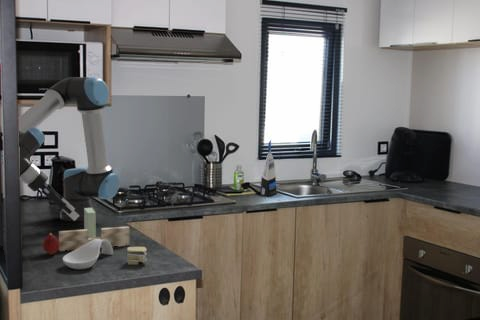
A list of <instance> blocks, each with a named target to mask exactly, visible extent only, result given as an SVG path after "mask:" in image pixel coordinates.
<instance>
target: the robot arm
mask: <svg viewBox="0 0 480 320" xmlns="http://www.w3.org/2000/svg"><path fill="white" fill-rule="evenodd" d="M109 92H110V91H109V88H108V85H107V84H106V81H104V80H103V79H101V78H99V77H93V76H88V77H87V76H84V77H83V76H79V77H77V76H70V77H66V78H64V79H62V80H60V81H58V82H57V83H55V84H54V85H52V86H51V87H49V89H48V90H46V91H45V92H44V96H43V97H41V99H39V100H38V101H37V102H36V103H35V104H33V105H32V106H31V107H30V108H28V109H27V110H26V111H25V112H23V114H21V115H20V116H19V117H18V118H19V147H20V178H19V179H20V181H19V182H23V183H24V184H25V185H27V187H28V188H29V189H30V190H31V191H32V192H37V191H38V190H39V189H40V190H41V191H40V192H41V193H42V195H44V196H45V197H47V198H48V199H49V200H51V201H52V202H53V204H55V205H56V206H57V207H58V208H59V209H58V210H59V211H60V213H59V214H60V215H59V216H60V217H59V218H60V220H62V221H64V222H84V208H92V209H93V210H94V208H93V205H92V202H91V198H93V199H100V200H110V199H112V198H114V197H115V196H116V195H117V192H118V191H119V188H120V177H119V175H118V174H116V173H114V171H113V166H111V165H110V164H109V159H108V158H109V157H108V150H107V143H106V142H107V141H106V136H105V129H104V128H105V127H104V118H103V110H104V109H105V108H106V107H105V105H106V104H107V102H108V101H109V97H110V93H109ZM69 105H76V110H77V112H79V113H80V114H81V119H82V120H81V121H82V127H83V135H84V143H85V149H86V156H87V157H86V158H87V164H88V166H87V167H86V166H83V167H77V168H69V169H66V170H64V172H63V179H62V180H63V194H59V192H57V191H56V190H55V189H54V188H53V187H52V185H50V184H49V183H47V181H48V180H49V176H47V175H46V174H45V173H44V172H43V171H41V169H40V168H39V167H37V166H36V164H34V163H33V162H32V161H31V160H30V159H31V157H32V156H33V155H34V154H35V152H37V151H38V150H39V149H40V148H41V146H42V144H43V143H44V142H45V141H46V136H45V134H44V133H43V131H41V129H39V128H38V127H39V126H40V125H41V124H42V123H43V122H45V121H46V119H48V118H49V117H50V116H52V114H53V113H56V111H57V110H62V109H64V107H65V106H69ZM2 157H3V155H1V162H0V163H1V164H2V165H3V161H2V160H3V159H2Z"/></svg>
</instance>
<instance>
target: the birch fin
mask: <svg viewBox="0 0 480 320" xmlns="http://www.w3.org/2000/svg"><path fill="white" fill-rule="evenodd" d="M130 233H131V231H130V226H129V225H128V226H119V227H118V226H116V227H115V226H113V227H101V228H100V236H99V237H98V236H96V238H89V236H88V229H70V230H59V231H58V240H59V243H60V246H59V249H58V251H60V252H65V250H67V251H74V250H76V249H78V248H80V247H82V246H83V245H85V244H87V243H88V242H90V241H92V240H94V239H101V240H108V241H109V242H110V244H111V245H112V248H115V247H114V246H118V247H127V246H128V245H131V244H130V243H131V242H130V240H131V239H130ZM126 245H127V246H126ZM100 249H102V244H101V245H100Z"/></svg>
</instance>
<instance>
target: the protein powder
mask: <svg viewBox="0 0 480 320" xmlns="http://www.w3.org/2000/svg"><path fill="white" fill-rule="evenodd" d="M267 147H268V149H267V151H268V152H267V156H266V159H265V163H264V167H263V171H262V174H261V181H260V193H259V194H260V195H261V196H263V197H267V198H268V197H274V196H276V195H277V193H278V192H277V177H276V168H275V167H276V166H275V160H274V156H273V153H272V139H270V140H269V142H268V146H267Z"/></svg>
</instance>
